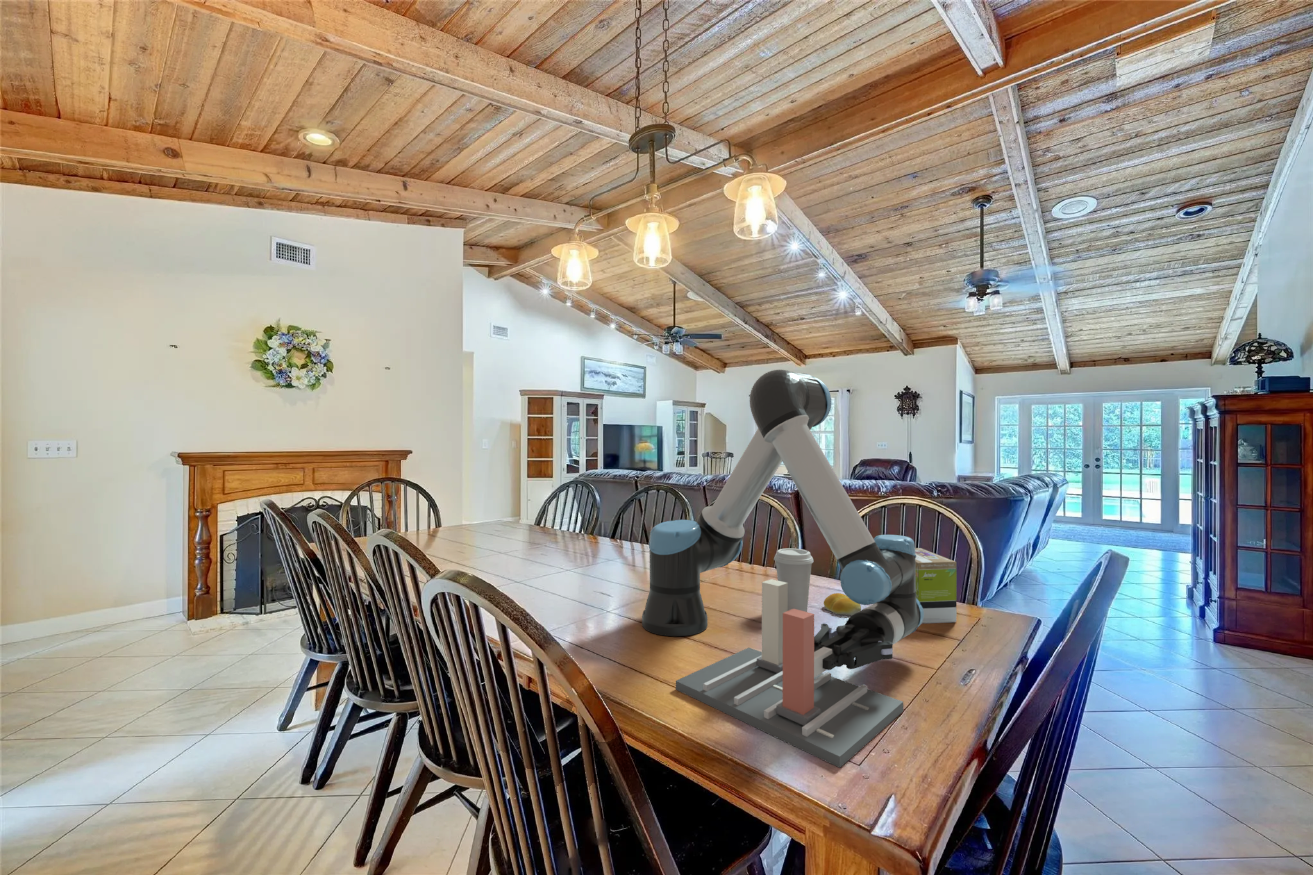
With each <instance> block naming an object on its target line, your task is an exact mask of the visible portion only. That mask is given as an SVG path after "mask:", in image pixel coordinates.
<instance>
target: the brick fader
mask: <svg viewBox="0 0 1313 875" xmlns="http://www.w3.org/2000/svg"><path fill="white" fill-rule="evenodd" d="M814 637H815V614H814V613H811V612H808V611H807V612H805V611H801V610H797V609H791V610H789V611H786V612H784V613H783V702H781V703H780V704H778V705H776V713H777V714H779V715H781V716H783V717H786V718H788V719H790V720H792V721H795V722H797V723H799V724H802V725H804V726H805V725H806V724H808V723H809V722H810V721H812V720H813V719H815V718H816V717H817V716H819V715H820V708H818V707H816V706H814Z"/></svg>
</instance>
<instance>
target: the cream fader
mask: <svg viewBox="0 0 1313 875" xmlns="http://www.w3.org/2000/svg"><path fill="white" fill-rule="evenodd" d="M786 611H788V583H786V582H781V581H778V579H777V580H776V579H772V578H771V579H767V580H764V581H762V582H761V652H762V656H761V657H759V658H757V666H760V667H763V668H765V669H768V670H771V671H773V672H776V673H779V672H781V671H783V613H784V612H786Z"/></svg>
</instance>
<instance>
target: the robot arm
mask: <svg viewBox="0 0 1313 875" xmlns="http://www.w3.org/2000/svg"><path fill="white" fill-rule="evenodd" d="M749 407H750V408H749V409H750V412H751V415H752V418H753V420H754V423H755V425H756V427H757V429H756V432H755V433H754V434H753V437H752V438H751V440H750V441H749V443H748V445H747V447H746V448H745V450H744V452H743V453H742V455H741V457H740V459H739V460H738V462H737V463H736V465H735V467H734V469H733V470H732V471H731V474H730V475H729V477H728V479H727V480H726V483H725V484H724V486H723V487H722V489H721V490H720V492H719V494H718V496H717V498H716V499H715V501H714V503H713V504H712V505H709V506H705V507H704V508H703V509H702V510H701V513H700V514H699V516H698V518H697V519H696V521H695V520H690V519H675V520H667V521H663V522H660V523H657V524H656V525H655V526H653V527H652V528H651V531H650V536H649V542H648V547H649V593H648V596H647V599H646V603H645V606H644V610H643V611H642V616H641V625H642V628H643V629H644V630H646V631H647V632H649V633H652V634H655V635H659V636H667V637H687V636H692V635H697V634H699V633H702V632H704V631H705V630H707V628H708V627H709V626H708V623H709V622H708V618H709V617H708V614H707V611H706V610H705V606H704V602H703V597H702V594H701V574H702V573H705V572H708V571H712V570H715V569H719V568H723V567H726V566H728V565H729V564H731V563H732V562H734V561H735V560H736V559H737V558H738V557H739V555H740V554H741V552H742V549H743V543H744V542H743V540H742V539H743V537H744V535H745V533H746V532H745V527H744V523H745V522H746V520H747V518H748V517H749V515H750V513H751V512H752V510H753V509H754V507H755V506H756V504H757V503H758V501H759V499H760V498H761V496H762V495H763V493H764V491H765V490H766V488H767V487H768V485H769V483H770V482H771V480H772V478H773V477H774V476H775V474H776V472H777V470H778V469H779V467H780V466H781V464H782V463H783V465H784V467H785V468H786V470H787V472H788V474H789V475H790V478H791V480H792V481H793V483H794V485H795V486H796V489H797V490H798V492H799V494H800V496H801V498H802V500H803V502H804V503H805V504H806V507H807V508H808V510H809V512H810V514H811V515H812V517H813V520H814V521H815V523H816V524H817V527H818V528H819V530H820V532H821V534H822V535H823V537H824V539H825V541H826V542H827V544H828V546H829V548H830V550H831V551H832V554H833V555H834V557H835V559H836V561H837V562H838V564H839V567H840V569H841V570H842V571H841V573H840V577H839V580H840V587H841V589H842V592H843V593H844V595H846V596H847V597H848V598H849V599H851V600H852V601H854V602H855V603H858V604H860V605H863V606H866V607H865V608H864V607H863V609H861V611H859V612H857V613H855V614H853V615H852V616H850V617H848V619H847V621H846V622H845V624H843V625H838V626H837V627H836V628H832V626H829V625H828V624H827V623H821V624H820V630H819V631H818V632H817V633H816V634H814V677H816V676H818V675H819V674H821V673H825V671H826V672H827V671H830V670H833V669H835V668H841V667H843V666H846V668H847V669H849V670H854V669H858V668H860V667H864V666H867V665H870V664H872V663H876V662H879V661H881V660H883V661H884V660H892V659H893V652H894V651H893V645H895V644H897V643H898V642H900V641H901V640H903V639H904V638H906V637H908V636H910V635H911V634H913V633H915V632H916V631H917V629H918V628H919V627H920V626H921V625H922V624H923V623H922V621H923V618H924V611H923V608H922V606H921V604H920V602H919V601H918V599H917V598H916V564H915V558H916V555H915V548H916V547H915V541H914V539H913V538H911V537H910V536H907V535H906V536H904V535H897V534H880V535H876V536H875V537H873V536H872V534H871V533H870V531H869V529H868V526H867V525H866V524H865V522H864V520H863V519H862V517H861V515H860V513H859V512H858V510H857V509H856V508H857V507H855V505H854V503H853V501H852V500H851V498H850V496H849V494H848V493H847V491H846V489H845V488H844V486H843V484H842V482H841V481H840V479H839V477H838V476H837V474H836V472H835V470H834V469H833V468H832V466H831V464H830V462H829V460H828V459H827V458H828V457H826V454H824V451H823V450H822V448H821V447H820V445H819V443H818V442H817V440H816V438H815V436H814V434H813V433H812V432H811V430H812V428H814V427H817V426H818V425H820V424H822V423H823V422H825V421H826V419H827V418H828V416H829V414H830V412H831V409H832V397H831V392H830V390H829V388H828V386H827V384H825V383H824V382H823V381H822V380H821V379H819V378H818V377H815V376H813V375H811V374H809V373H804V372H803V373H802V372H801V373H800V372H794V371H790V370H787V369H772V370H771V371H767V372H765V373H763V374H762V375H761V376H759V377H758V378H757V380H755V382H754V384H753V386H752V387H751V390H750V394H749Z"/></svg>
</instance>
